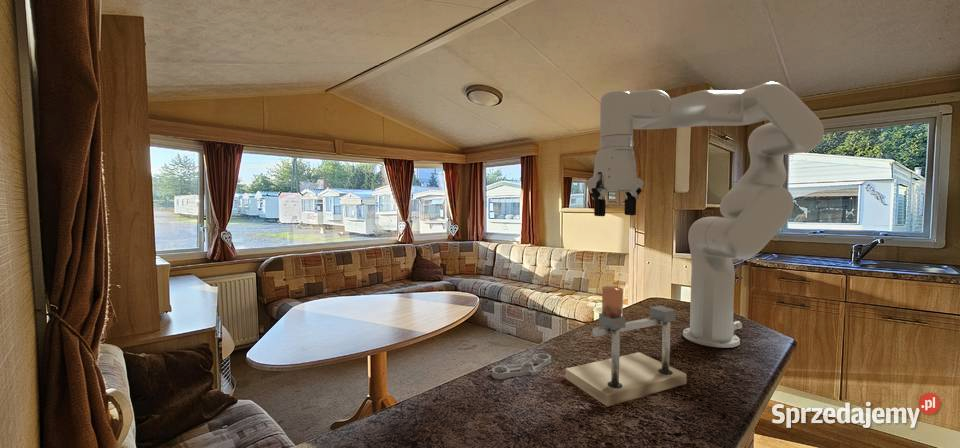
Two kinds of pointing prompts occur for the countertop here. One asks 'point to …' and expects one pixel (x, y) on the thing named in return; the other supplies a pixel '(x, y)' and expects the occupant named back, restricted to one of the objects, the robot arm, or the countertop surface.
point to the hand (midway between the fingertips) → (615, 215)
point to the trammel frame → (657, 317)
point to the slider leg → (613, 324)
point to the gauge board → (624, 378)
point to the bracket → (522, 367)
